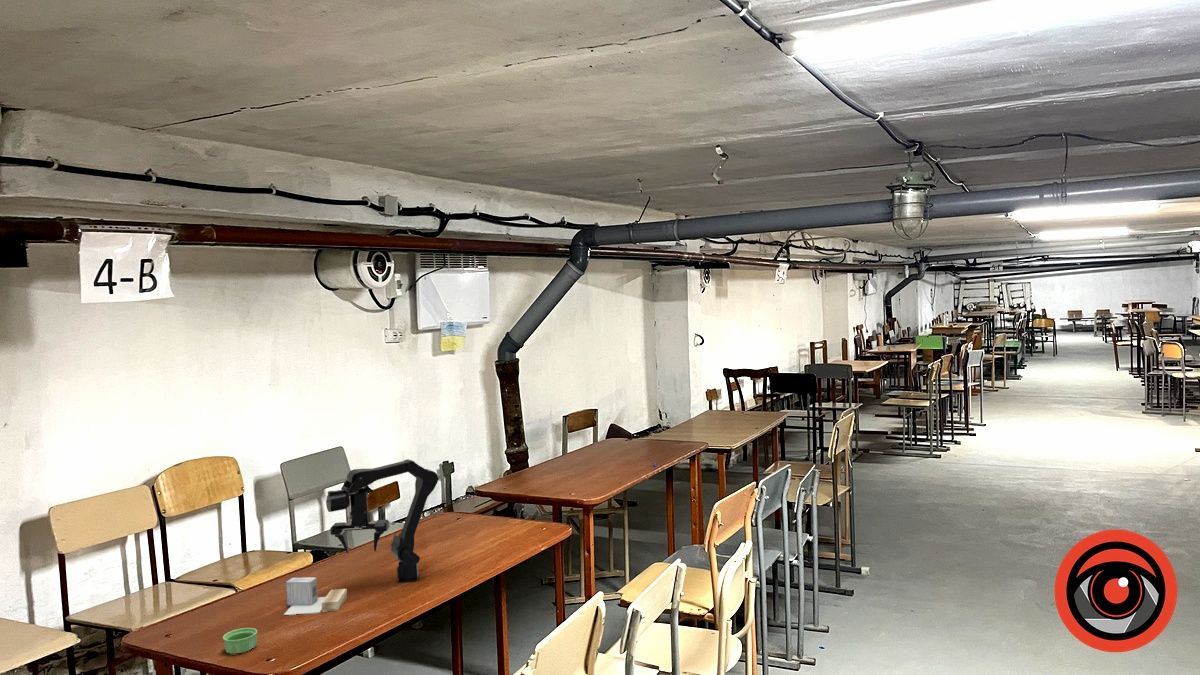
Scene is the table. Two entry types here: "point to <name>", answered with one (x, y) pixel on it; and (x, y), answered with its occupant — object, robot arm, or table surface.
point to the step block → (334, 600)
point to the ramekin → (240, 640)
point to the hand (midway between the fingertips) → (361, 552)
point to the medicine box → (302, 591)
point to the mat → (306, 608)
